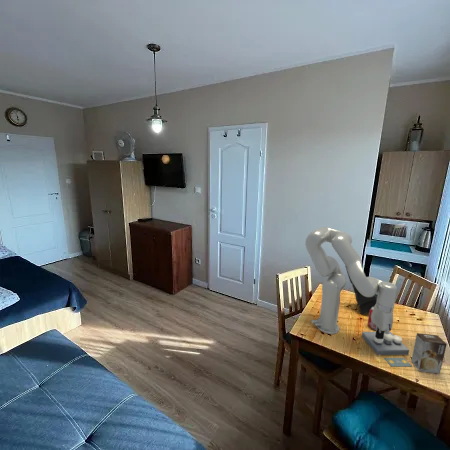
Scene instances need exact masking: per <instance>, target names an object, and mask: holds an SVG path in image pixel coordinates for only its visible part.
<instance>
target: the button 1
mask: <svg viewBox="0 0 450 450" xmlns="http://www.w3.org/2000/svg"><path fill="white" fill-rule="evenodd" d="M374 342H375V344H376V345H382V343H383V339H377V338H376V337H375V336H374Z"/></svg>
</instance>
